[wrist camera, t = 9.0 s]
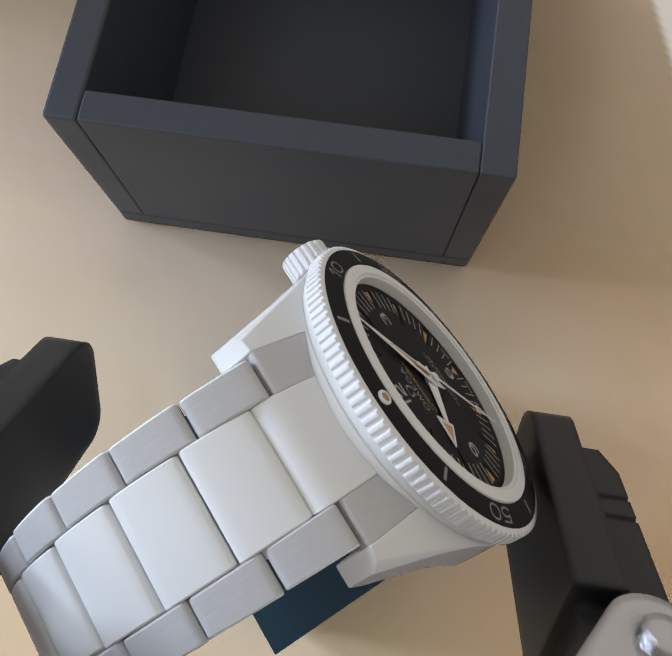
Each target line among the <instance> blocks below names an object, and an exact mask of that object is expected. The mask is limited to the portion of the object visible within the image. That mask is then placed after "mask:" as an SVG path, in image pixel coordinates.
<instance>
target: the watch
mask: <svg viewBox="0 0 672 656" xmlns="http://www.w3.org/2000/svg"><path fill="white" fill-rule="evenodd" d="M282 267H283V269H284V271H285V272H286V274H287V275H288V277H289V278H290V280H291V281H292V283H293V285H292V286H291V287H290V288H289V289H288V290H286V291H285V292H284V293H283V294H282V295H281V296H280V297H279V298H278V299H277V300H276V301H275V302H274V303H272V304H271V305H270V306H269V307H268V308H267V309H266V310H265V311H264V312H262V313H261V314H260V315H259V316H258V317H256V318H255V319H254V320H253V321H252V322H250V323H249V324H248V325H247V326H246V327H245V328H243V329H242V330H241V331H240V332H239V333H237V334H236V335H235V336H234V337H233V338H232V339H230V340H229V341H228V342H227V343H226V344H225V345H223V346H222V347H221V348H220V349H219V350H217V351H216V352H215V353H214V354H213V355H212V356H211V358H212V359H213V361H214V363H215V364H216V366H217V368H218V369H219V371H220V373H221V375H219V376H218V377H216V378H214V379H213V380H211V381H210V382H208V383H206V384H205V385H203V386H202V387H200V388H199V389H197V390H196V391H194V392H193V393H191V394H189V395H188V396H186V397H185V398H184V399H182V400H181V401H180V406H181V408H182V409H183V411H184V413H185V415H186V416H184V415H183V413H182V411H181V409H180V408H179V406H178V405H176V404H172V405H170V406H169V407H167V408H166V409H164V410H163V411H161V412H160V413H158V414H157V415H155V416H154V417H152V418H151V419H149V420H148V421H146V422H145V423H144V424H142V425H141V426H139V427H138V428H136V429H135V430H134V431H132V432H131V433H129V434H128V435H127V436H125V437H124V438H123V439H121V440H120V441H118V442H117V443H116V444H114V445H113V446H112V447H111V448H110V449H109V451H104V452H102V453H100V454H99V455H97V456H96V457H95V458H93V459H92V460H91V461H90V462H88V463H87V464H86V465H85V466H83V467H82V468H81V469H80V470H78V471H77V472H76V473H75V474H74V475H72V476H71V477H70V478H69V479H68V480H66V481H65V482H64V483H63V484H62V485H61V486H60V487H58V488H57V489H56V490H55V491H54V492H53V493H52V495H51V496H48V497H46V498H45V499H43V500H42V501H41V502H40V503H39V504H38V505H37V506H36V507H35V508H34V509H33V510H32V511H31V512H30V513H29V514H28V515H27V516H26V517H25V518H24V519H23V520H22V521H21V523H20V524H19V525H18V526H17V527H16V529H15V530H14V532H13V534H14V535H13V536H11V537H10V538H9V539H8V541H7V542H6V544H5V545H4V547H3V548H2V550H1V552H0V573H1V575H2V577H3V579H4V582H5V584H6V586H7V588H8V590H9V592H10V594H11V595H12V597H13V600H14V602H15V604H16V606H17V608H18V611H19V613H20V615H21V617H22V619H23V621H24V623H25V626H26V628H27V630H28V632H29V634H30V636H31V638H32V641H33V643H34V645H35V647H36V649H37V651H38V653H39V656H185V655H187V654H189V653H191V652H192V651H194V650H196V649H198V648H199V647H201V646H203V645H204V644H206V643H207V642H208V641H209V640H210V639H211V638H213V637H215V636H216V635H218V634H220V633H221V632H223V631H225V630H227V629H228V628H230V627H232V626H233V625H235V624H237V623H238V622H240V621H242V620H243V619H245V618H247V617H249V616H250V615H252V614H253V615H254V617H255V619H256V621H257V623H258V624H259V626H260V628H261V630H262V632H263V633H264V635H265V637H266V639H267V641H268V642H269V644H270V646H271V648H272V650H273V651H274V653H275V655H276V654H277V653H279V652H280V651H282V650H283V649H284V648H286V647H287V646H289V645H290V644H292V643H293V642H295V641H296V640H298V639H299V638H300V637H302V636H303V635H305V634H306V633H308V632H309V631H311V630H312V629H314V628H315V627H316V626H318V625H319V624H321V623H322V622H324V621H325V620H327V619H328V618H330V617H331V616H332V615H334V614H335V613H337V612H338V611H340V610H341V609H343V608H344V607H346V606H347V605H349V604H350V603H351V602H353V601H354V600H356V599H357V598H359V597H360V596H362V595H363V594H365V593H366V592H367V591H369V590H370V589H372V588H373V587H375V586H376V585H378V584H379V583H381V582H382V581H383V580H385V579H386V578H390V577H393V576H396V575H399V574H403V573H406V572H409V571H413V570H417V569H421V568H427V567H432V566H453V565H457V564H459V563H461V562H464V561H466V560H468V559H470V558H472V557H474V556H476V555H477V554H479V553H481V552H483V551H485V550H487V549H488V548H490V547H492V546H494V545H496V544H497V545H500V544H501V545H504V544H510V543H512V542H514V541H516V540H518V539H520V538H522V537H524V536H526V535H527V534H529V532H531V530H532V529H533V527H534V525H535V522H536V518H537V517H536V516H537V500H536V494H535V488H534V484H533V480H532V476H531V473H530V469H529V466H528V463H527V460H526V457H525V455H524V452H523V450H522V447H521V445H520V442H519V440H518V438H517V436H516V434H515V431H514V429H513V427H512V425H511V423H510V421H509V419H508V417H507V416H506V414H505V412H504V410H503V408H502V406H501V405H500V403H499V401H498V399H497V398H496V396H495V394H494V393H493V391H492V389H491V388H490V386H489V385H488V383H487V382H486V380H485V378H484V377H483V375H482V374H481V372H480V371H479V369H478V368H477V366H476V365H475V364H474V362H473V361H472V359H471V358H470V357H469V355H468V354H467V352H466V351H465V350H464V348H463V347H462V346H461V344H460V343H459V342H458V340H457V339H456V338H455V337H454V335H453V334H452V333H451V332H450V330H449V329H448V328H447V327H446V326H445V325H444V323H443V322H442V321H441V320H440V319H439V318H438V316H437V315H436V314H435V313H434V312H433V311H432V310H431V309H430V308H429V307H428V305H427V304H426V303H425V302H424V301H423V300H422V299H421V298H420V297H419V296H418V295H417V294H416V293H415V292H414V291H413V290H412V289H410V288H409V287H408V286H407V285H406V284H405V283H404V282H403V281H401V280H400V279H399V278H398V277H397V276H396V275H394V274H393V273H392V272H390V271H389V270H388V269H386V268H385V267H384V266H382V265H381V264H379V263H378V262H376V261H374V260H373V259H371V258H370V257H368V256H366V255H364V254H362V253H360V252H357V251H356V250H353V249H349V248H346V247H332V248H329V249H327V247H326V246H325V244H324V243H323V241H321V240H313V241H309V242H307V243H305V244H303V245H301V246H300V247H298V248H296V249H295V250H294V251H293V252H291V253H290V255H289V256H287V257H286V259H285V261H283V265H282Z"/></svg>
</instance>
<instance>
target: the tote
mask: <svg viewBox="0 0 672 656" xmlns="http://www.w3.org/2000/svg"><path fill="white" fill-rule="evenodd" d="M531 9H532V0H77V3H76V6H75V9H74V12H73V16H72V19H71V22H70V25H69V29H68V32H67V35H66V39H65V42H64V45H63V48H62V52H61V55H60V58H59V62H58V65H57V68H56V71H55V75H54V78H53V81H52V85H51V88H50V91H49V94H48V98H47V101H46V104H45V108H44V111H43V116H44V118H45V119H46V120H47V121H48V123H49V124H50V125H51V126H52V128H53V129H54V130H55V131H56V133H57V134H58V135H59V136H60V138H61V139H62V140H63V141H64V143H65V144H66V145H67V146H68V147H69V149H70V150H71V151H72V152H73V154H74V155H75V156H76V157H77V159H78V160H79V161H80V162H81V164H82V165H83V166H84V167H85V169H86V170H87V171H88V172H89V174H90V175H91V176H92V177H93V178H94V180H95V181H96V182H97V183H98V185H99V186H100V187H101V188H102V190H103V191H104V192H105V193H106V195H107V196H108V197H109V198H110V200H111V201H112V202H113V203H114V204H115V206H116V207H117V208H118V209H119V210H120V212H121V213H122V215H123V216H124V217H125V218H126V219H129V220H136V221H144V222H151V223H158V224H165V225H172V226H179V227H186V228H194V229H201V230H208V231H215V232H222V233H229V234H236V235H244V236H251V237H258V238H265V239H272V240H279V241H287V242H294V243H301V244H305V243H307V242H309V241H313V240H321V241H323V243H324V244H325V246H326V247H329V248H332V247H346V248H349V249H353V250H356V251H358V252H365V253H372V254H379V255H387V256H394V257H401V258H408V259H415V260H422V261H429V262H437V263H444V264H451V265H458V266H466V265H467V263H468V261H469V260H470V258H471V257H472V255H473V253H474V251H475V250H476V248H477V246H478V244H479V243H480V241H481V239H482V237H483V236H484V234H485V232H486V230H487V228H488V227H489V225H490V223H491V221H492V220H493V218H494V216H495V214H496V213H497V211H498V209H499V207H500V206H501V204H502V202H503V200H504V199H505V197H506V195H507V193H508V191H509V190H510V188H511V186H512V184H513V183H514V181H515V179H516V177H517V166H518V155H519V144H520V132H521V121H522V110H523V99H524V87H525V76H526V65H527V54H528V42H529V31H530V20H531Z"/></svg>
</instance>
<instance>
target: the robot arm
mask: <svg viewBox="0 0 672 656" xmlns="http://www.w3.org/2000/svg"><path fill="white" fill-rule="evenodd" d="M99 421H100V401H99V392H98V384H97V376H96V367H95V359H94V352H93V349H92V347H91V345H90V344H89V343H87V342H80V341H74V340H67V339H61V338H54V337H45V338H43V339H42V340H40V341H39V342H38V343H37V344H36V345H35V346H34V347H33V348H32V349H31V350H30V351H29V352H28V353H27V354H26V355H25V356H24V357H23V358H22V359H21V360H18V359H11V360H9V361H8V362H6V363H4V364H2V365H0V552H1V550H2V548H3V547H4V545H5V544H6V542H7V541H8V539H9V538H10V537H11V536H13V535H14V534H13V532H14V530H15V529H16V527H17V526H18V525H19V524H20V523H21V521H22V520H23V519H24V518H25V517H26V516H27V515H28V514H29V513H30V512H31V511H32V510H33V509H34V508H35V507H36V506H37V505H38V504H39V503H40V502H41V501H42V500H43V499H45V498H46V497H48V496H51V495H52V493H53V492H54V491H55V490H56V489H57V488H58V487H60V486H61V485H62V484H63V483H64V482H65V480H66V479H67V477H68V476H69V474H70V473H71V472H72V470H73V469H74V467H75V466H76V464H77V463H78V461H79V460H80V458H81V457H82V456H83V454H84V453H85V451H86V450H87V448H88V447H89V445H90V444H91V442H92V441H93V439H94V437H95V435H96V432H97V429H98V425H99ZM516 436H517V438H518V440H519V442H520V445H521V447H522V450H523V452H524V455H525V457H526V460H527V463H528V466H529V469H530V473H531V476H532V480H533V484H534V488H535V494H536V500H537V516H536V517H537V518H536V522H535V525H534V527H533V529H532V530H531V532H529V534H527V535H526V536H524V537H522V538H520V539H518V540H516V541H514V542H512V543H510V544H506V545H507V552H508V558H509V565H510V572H511V578H512V585H513V592H514V598H515V605H516V612H517V618H518V625H519V631H520V638H521V645H522V651H523V656H672V604H671V603H669V600H668V598H667V595H666V593H665V590H664V588H663V585H662V583H661V580H660V577H659V575H658V572H657V570H656V567H655V565H654V562H653V560H652V557H651V555H650V552H649V549H648V547H647V544H646V542H645V539H644V537H643V534H642V532H641V529H640V527H639V524H638V523H636V516H635V514H634V511H633V509H632V506H631V504H630V502H628V496H627V493H626V491H625V488H624V486H623V483H622V481H621V478H620V476H619V473H618V472H617V471H616V470H615V469H614V467H613V466H612V465H611V464H610V463H609V462H608V461H607V460H606V458H605V457H604V456H603V455H602V454H601V453H600V452H599V451H598V450H594V449H588V448H582V446H581V443H580V440H579V437H578V434H577V431H576V428H575V425H574V422H573V420H572V419H571V418H570V417H567V416H560V415H554V414H547V413H541V412H534V411H526V412H525V413H524V415H523V417H522V419H521V422H520V425H519V428H518V431H517V434H516ZM0 575H1V573H0Z"/></svg>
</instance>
